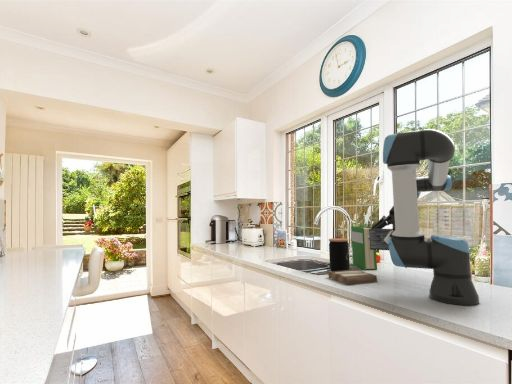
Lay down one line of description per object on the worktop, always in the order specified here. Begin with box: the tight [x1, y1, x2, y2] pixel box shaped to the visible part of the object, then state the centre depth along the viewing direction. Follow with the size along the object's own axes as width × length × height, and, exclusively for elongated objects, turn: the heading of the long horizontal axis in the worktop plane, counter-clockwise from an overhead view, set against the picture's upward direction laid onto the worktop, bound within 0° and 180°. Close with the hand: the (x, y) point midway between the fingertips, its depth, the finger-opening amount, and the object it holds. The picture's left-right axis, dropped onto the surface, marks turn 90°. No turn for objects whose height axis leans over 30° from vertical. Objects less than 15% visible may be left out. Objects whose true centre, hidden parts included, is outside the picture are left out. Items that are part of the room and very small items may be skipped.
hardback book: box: [350, 225, 378, 272], centre depth 167 cm, size 18×7×24 cm, turn 1°
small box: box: [369, 228, 393, 251], centre depth 142 cm, size 11×6×10 cm, turn 58°
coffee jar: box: [328, 237, 351, 272], centre depth 157 cm, size 11×11×18 cm
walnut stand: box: [328, 268, 378, 286], centre depth 137 cm, size 16×16×3 cm
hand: (377, 241), depth 141 cm, fingers closed on small box, 11 cm apart
